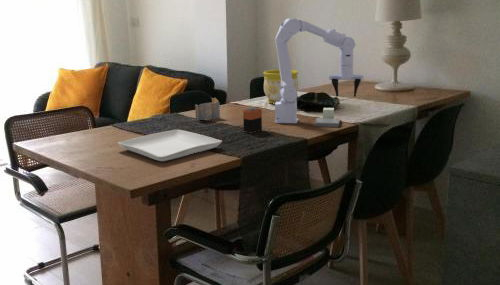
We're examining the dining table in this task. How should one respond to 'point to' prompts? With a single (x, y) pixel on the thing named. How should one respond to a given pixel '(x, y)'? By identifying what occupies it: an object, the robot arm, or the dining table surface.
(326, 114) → the block
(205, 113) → the ruin model on sheet
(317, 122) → the trivet
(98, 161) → the dining table surface
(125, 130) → the dining table surface
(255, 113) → the battery
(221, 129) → the dining table surface
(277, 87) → the flowerpot
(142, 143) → the square plate
